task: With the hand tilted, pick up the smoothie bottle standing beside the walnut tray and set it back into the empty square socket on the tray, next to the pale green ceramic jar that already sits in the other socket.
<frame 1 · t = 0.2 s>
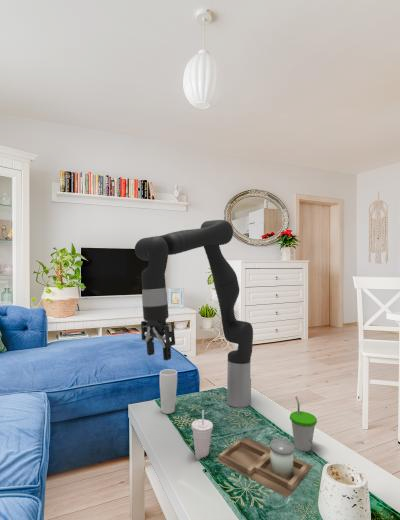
hand: (158, 357, 98), 29 cm above the table, tool pointing down, fingers open, 8 cm apart
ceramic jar: (281, 471, 88), resting on walnut tray
drinking glass: (168, 411, 124), on the table
walnut tray: (263, 467, 91), on the table
cup: (302, 451, 99), on the table
smoothie: (201, 457, 96), on the table
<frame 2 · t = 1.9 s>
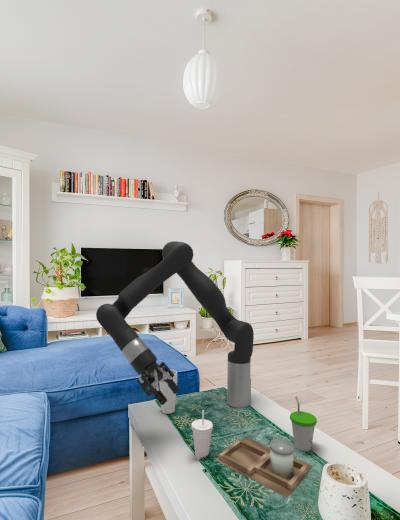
hand: (171, 397, 99), 16 cm above the table, tool tilted 45°, fingers open, 8 cm apart
nothing on the table moved.
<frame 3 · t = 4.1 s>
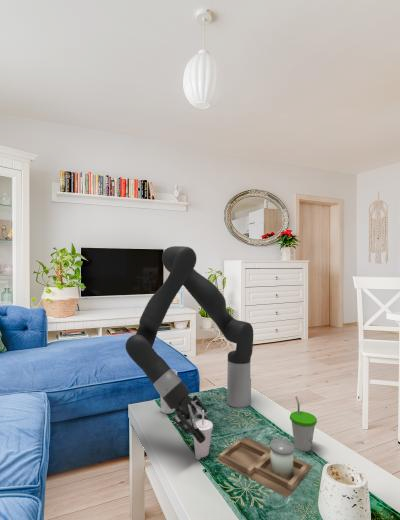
hand: (207, 434, 95), 7 cm above the table, tool tilted 45°, fingers closed on smoothie, 6 cm apart
smoothie: (201, 457, 96), on the table, touching gripper
everything else where it was.
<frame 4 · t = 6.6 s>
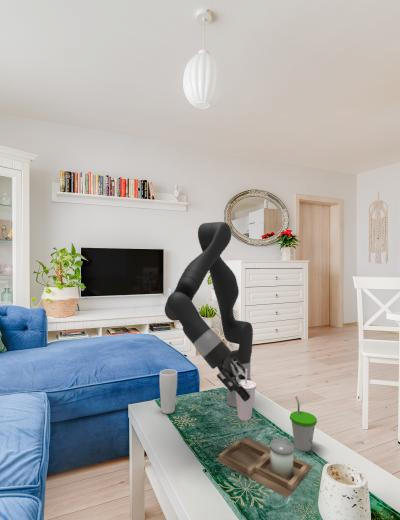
hand: (250, 394, 92), 20 cm above the table, tool tilted 45°, fingers closed on smoothie, 6 cm apart
smoothie: (244, 417, 93), point 13 cm above the table, touching gripper
everything else where it was.
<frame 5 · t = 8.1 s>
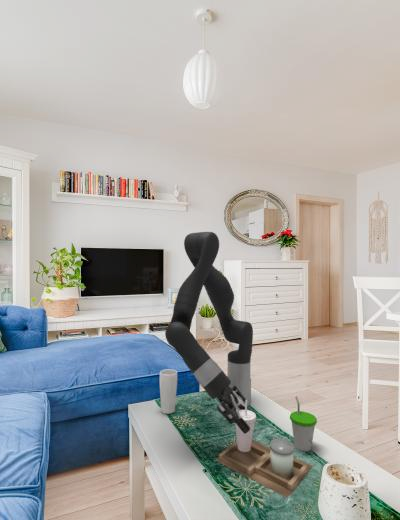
hand: (250, 425, 92), 11 cm above the table, tool tilted 45°, fingers closed on smoothie, 6 cm apart
smoothie: (244, 448, 93), point 4 cm above the table, touching gripper
everything else where it was.
when the fingers open (9 cm above the table, at t = 9.1 s): smoothie stays where it is, resting on walnut tray.
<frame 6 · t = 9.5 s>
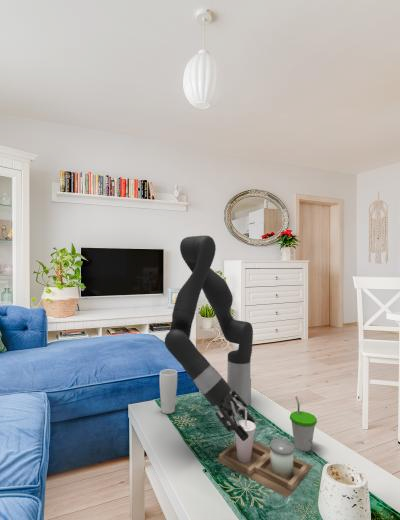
hand: (249, 431, 92), 9 cm above the table, tool tilted 45°, fingers open, 8 cm apart
smoothie: (243, 459, 93), point 1 cm above the table, touching walnut tray
everything else where it was.
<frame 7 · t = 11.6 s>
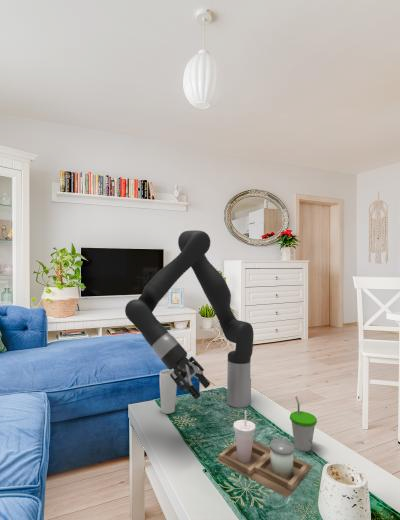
hand: (203, 391, 99), 18 cm above the table, tool tilted 45°, fingers open, 8 cm apart
nothing on the table moved.
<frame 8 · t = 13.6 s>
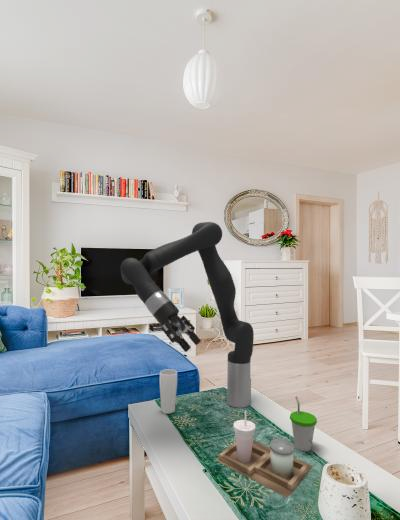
hand: (193, 346, 102), 31 cm above the table, tool tilted 45°, fingers open, 8 cm apart
nothing on the table moved.
at the end: smoothie 0.2 cm from the target spot, point 1.0 cm above the table; smoothie tilted 0°; the gripper is holding nothing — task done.
